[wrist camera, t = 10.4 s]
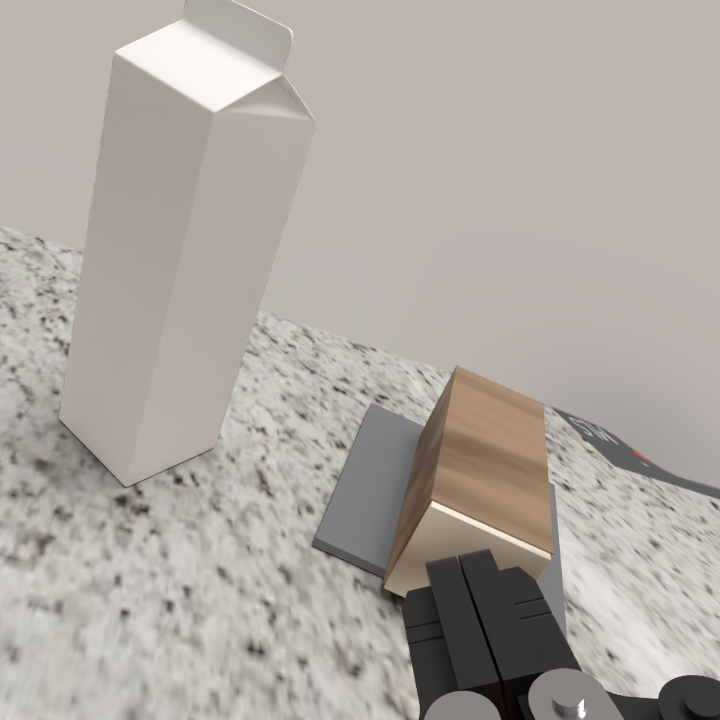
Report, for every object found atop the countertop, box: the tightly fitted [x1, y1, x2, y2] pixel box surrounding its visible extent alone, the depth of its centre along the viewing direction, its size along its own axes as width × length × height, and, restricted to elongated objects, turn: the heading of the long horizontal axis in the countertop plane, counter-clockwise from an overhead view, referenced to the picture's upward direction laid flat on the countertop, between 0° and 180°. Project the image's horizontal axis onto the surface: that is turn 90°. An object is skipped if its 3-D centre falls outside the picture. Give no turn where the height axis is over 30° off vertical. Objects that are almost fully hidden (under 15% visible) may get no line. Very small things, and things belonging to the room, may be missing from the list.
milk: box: [59, 0, 317, 487], centre depth 30 cm, size 6×6×22 cm
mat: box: [312, 403, 567, 641], centre depth 38 cm, size 14×14×1 cm
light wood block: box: [383, 366, 554, 598], centre depth 36 cm, size 6×6×14 cm
